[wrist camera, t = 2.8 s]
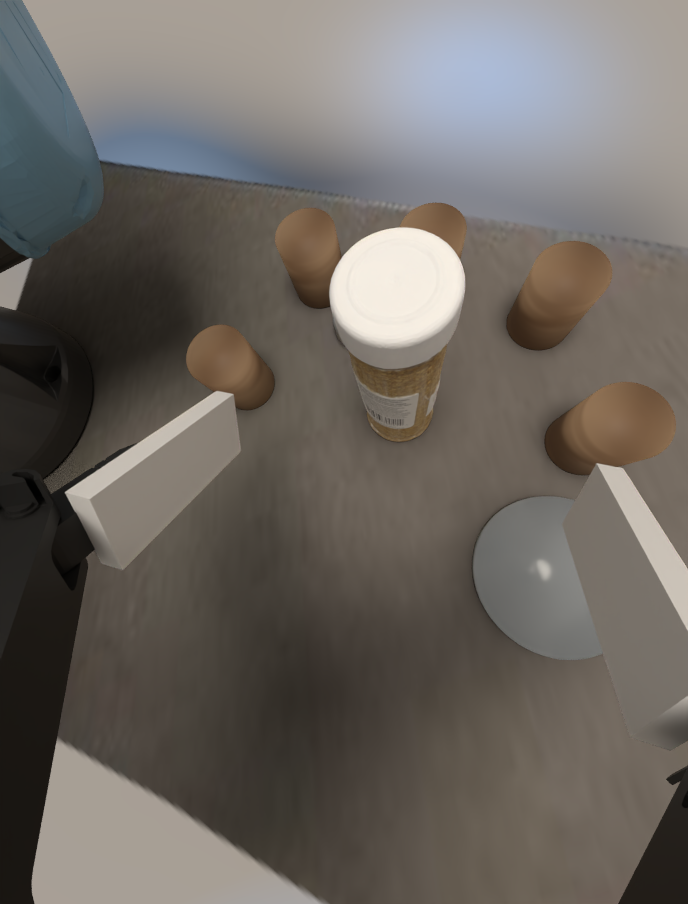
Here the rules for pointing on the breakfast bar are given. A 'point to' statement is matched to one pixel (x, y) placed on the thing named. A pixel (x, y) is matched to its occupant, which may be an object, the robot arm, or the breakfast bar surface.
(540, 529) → the coaster
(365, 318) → the sprinkles bottle
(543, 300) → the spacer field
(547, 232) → the breakfast bar surface
